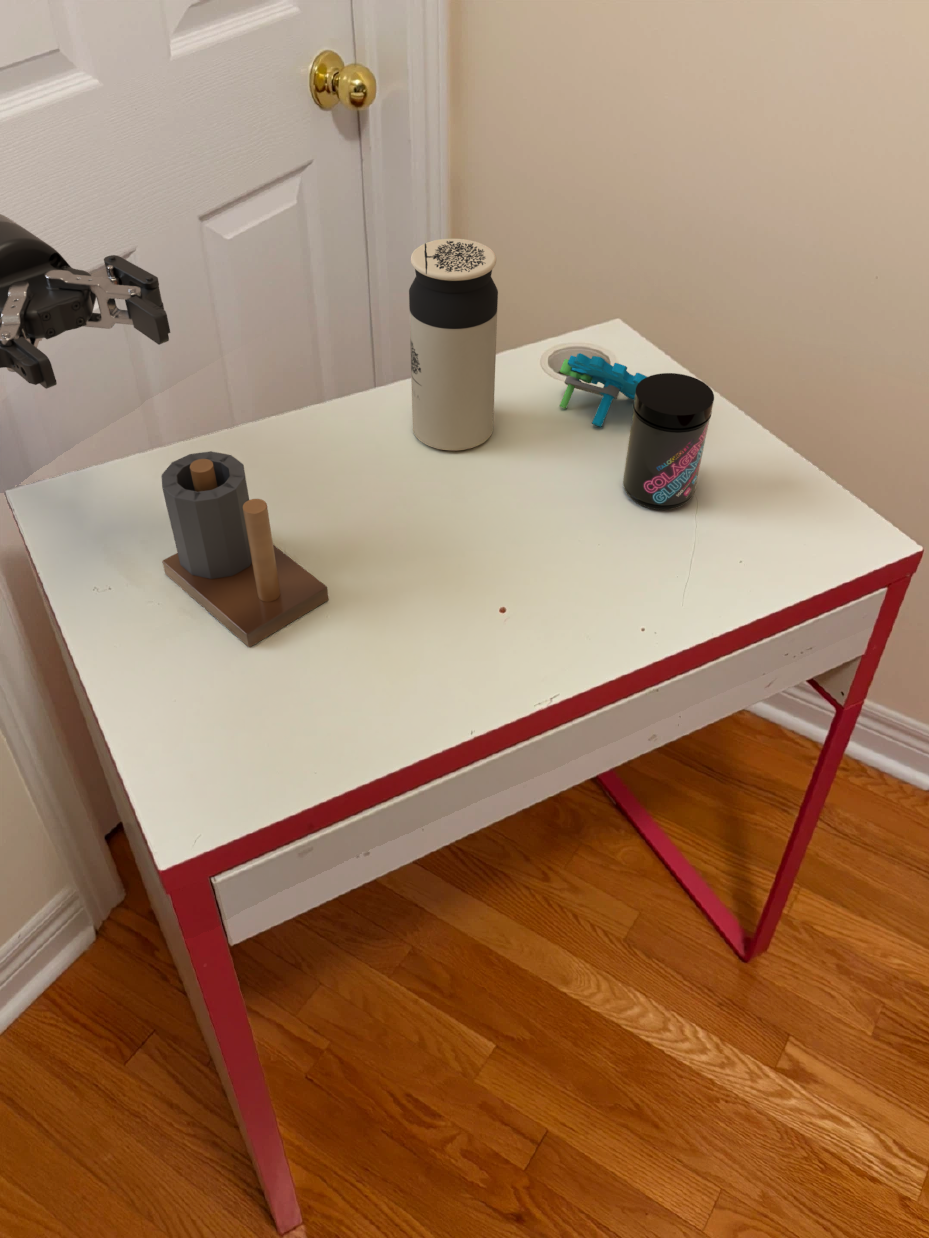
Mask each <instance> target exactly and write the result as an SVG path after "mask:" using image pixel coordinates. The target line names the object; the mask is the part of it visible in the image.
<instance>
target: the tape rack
mask: <svg viewBox="0 0 929 1238" xmlns="http://www.w3.org/2000/svg"><path fill="white" fill-rule="evenodd" d="M190 471H191V475H192V480H193V485H194V490H195V491H196V492H200V491H207V490H213V489H215V488H217V487H218V486H217V481H216V476H215V471H214V465H213V462H212V461H210V460H208V459H198V460H195V461H194V462H192V463H191V465H190ZM243 513H244V518H245V524H246V530H247V536H248V542H249V547H250V553H251V559H252V563H251V565H250V566H249V567H248V568H246V569H244V570H242V571H240V572H238V573H237V574H235V575H233V576H228V577H222V578H215V579H209V578H204V577H199V576H195V575H192V574H190V573H189V572H188V571H187V570H186V569H185V568H184V567H182V566H181V565H180V561H179V557H178V553H177V552H175V553H174V554H172V555H170V556H168V557H167V558H165V559H163V560H162V561H161V562H162V566H163V571H164V575H166V576H167V577H168V578H170V579H171V580H172V581H173V582H174V583H175V584H176V585H177V586H179V588H181V589H182V590H183V591H184V592H185V593H186V594H187V595H189V596H190V597H191V598H192V599H193V600H194V601H195V602H197V603H198V604H199V605H200V606H201V607H202V608H204V609H205V610H206V611H207V612H208V613H209V614H210V615H212V617H214V618H215V619H216V620H217V621H218V622H220V623H221V624H222V625H223V626H224V627H225V628H226V629H227V630H229V632H230V633H232V634H233V635H234V636H235V637H237V638H238V639H239V640H240V641H241V642H242V643H243V644H244V645H246V646H247V647H248V648H251V647H253V646H255V645H256V644H258V643H259V642H262V640H265V639H266V638H268V637H269V636H271V635H273V634H274V633H276V632H278V631H279V630H281V629H283V628H284V627H286V626H288V625H289V624H291V623H292V622H293V623H294V621H296V620H298V619H299V618H301V617H303V616H305V615H306V614H308V613H309V612H311V611H313V610H315V609H316V608H318V607H320V606H321V605H323V604H325V603H326V602H328V601H329V589H328V586H327V585H326V584H324V583H323V582H322V581H321V580H319V579H318V578H316V577H315V576H314V575H313V574H312V573H310V572H309V571H307V570H306V569H305V568H304V567H302V566H301V565H300V564H298V563H297V562H296V561H294V559H292V558H291V557H290V556H288V555H287V554H286V553H284V552H283V551H282V550H281V549H279V548H278V547H277V546H275V545H274V541H273V535H272V527H271V522H270V515H269V508H268V503H267V502H266V500H264V499H262V498H252V499H249V500H248V501H247V502H245V503H244V505H243Z"/></svg>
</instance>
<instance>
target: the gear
mask: <svg viewBox="0 0 929 1238" xmlns="http://www.w3.org/2000/svg"><path fill="white" fill-rule="evenodd" d="M627 370H628V367H627V366H626V365H624V364H621V363H618V362H614V363H613V365H612V364H610V363H609V362H608V361H607V360H605V358H604V357H601V356H597V355H592V356H591V358H590V357H589V356H588V355H585V354H583V353H581V352H579V353H577V354H576V356H575V355H570V356H569V359H568V358H564V360H563V362H562V365H561V367H560V369H559V373H561V374H563V375H566V377H565V379H564V382H563V383H564V384H565V385H566V389H565V392H564V394H563V396H562V399H561V401H560V404H559V407H560V408H562V409H565V410H566V409H567V407H568V405H569V402H570V401H571V398H572V395H573V393H574V392H575V391H574V390H580V391H583V392H587V393H590V394H593V395H598V396H601V397H602V398H601V399H600V402H599V405H598V407H597V409H596V412H595V414H594V417H593V419H592V422H591V424H592V425H593V426H596V427H599V428H601V427H603V424H604V422H605V419H606V417H607V415H608V412H609V410H610V407H611V405H612V403H613V400H617V398H618V396H619V394H620V393H621V394H622V395H624V396H625V397H626V398H628V399H630V400H633V401H634V398H635V391H636V387H637V385H638V383H639V382H640V381H641V380H643V379H644V378H646V377H648V376H647V375H646V374H645V375H644V374H643V373H640V372H635V375H633V374H631V373H630V372H629V371H627ZM598 383H600V384H601V385H603V387H601V386H597V385H598Z"/></svg>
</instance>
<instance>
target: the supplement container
mask: <svg viewBox="0 0 929 1238" xmlns="http://www.w3.org/2000/svg"><path fill="white" fill-rule="evenodd" d="M714 402H715V394H714V392H713V389H711V387H710V386H709V385H708V384H707V383H705V382H704V381H702V380H700V379H699V378H696V377H694V376H691V375H687V374H682V373H674V372H663V373H656V374H651V375H649V376H647V377H646V378H644V379H643V380H641V381H640V382H639V383H638V385H637V387H636V391H635V398H634V400H633V403H632V414H631V415H632V416H631V423H630V429H629V435H628V443H627V450H626V457H625V463H624V472H623V478H622V485H623V486H622V487H623V489H624V491H625V494H626V495H627V496H628V498H630V499H631V500H632V501H633V502H634V503H635V504H637V505H639V506H641V507H644V508H647V509H650V510H655V511H670V510H675V509H678V508H681V507H683V506H684V505H686V504H687V503H689V502H690V500H691V499H692V498H693V496H694V495H695V493H696V489H697V484H698V478H699V474H700V470H701V463H702V459H703V454H704V449H705V443H706V439H707V434H708V430H709V425H710V420H711V417H712V413H713V407H714Z"/></svg>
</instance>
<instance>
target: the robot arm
mask: <svg viewBox="0 0 929 1238" xmlns="http://www.w3.org/2000/svg"><path fill="white" fill-rule="evenodd" d="M103 262H104V267H105V268H102V269H100V270H98V271H95V272H92V273H90V272H89V271H86V270H83V269H79V268H73V267H72V266H71V265H70V264H69V263H68V262H67V260H66V259H65V258H64V257H63V255H61V253H59V251H57V249H55V248H54V247H53V246H51V245H50V244H49V243H47V242H46V241H44V240H42V239H41V238H39V237H38V236H36V234H34V233H32V232H31V231H29V230H27V229H26V228H24V227H23V226H22V225H20V224H18V223H17V222H16V221H14V220H12V219H11V218H9V217H7V216H6V215H4V214H1V213H0V369H1V368H6V370H7V372H10V373H16V374H18V375H19V376H20V377H21V378H22V379H23V380H25V381H26V382H27V383H28V384H30V385H31V384H32V385H35V386H37V385H40V386H41V387H43V388H44V389H46V390H47V389H49V388H52V387H55V386H57V384H58V383H57V379H56V375H55V372H54V369H53V366H52V362H51V361H50V358H49V357H48V356H47V355H46V354H45V353H44V352H42V351H41V349H39V348H38V346H39V343H40V342H42V341H43V339H45V340H50V339H52V338H55V337H57V336H60V335H62V334H63V333H64V332H67V331H71V330H76V329H80V328H82V327H83V328H84V327H85V328H94V329H95V328H96V329H108V330H110V329H112V328H113V327H114V326H115V325H116V324H117V325H118V324H119V325H129V326H133V328H134V329H135V330H137V331H138V332H140V333H141V334H142V335H144V336H145V337H147V338H148V339H150V340H151V341H152V342H154V343H155V344H157V345H162V344H164V343H168V342H169V341H170V337H169V334H171V328H170V324H169V319H168V314H167V311H166V310H165V306H164V302H163V299H162V295H161V294H162V293H161V289H160V282H159V277H157V276H156V275H154V274H152V273H151V272H149V271H147V270H145V269H144V268H142V267H140V266H138V265H136V264H134V263H132V262H130V261H129V260H127V259H125V258H123V257H121V256H120V255H115V254H111V255H106V256H105V257H104V258H103ZM116 300H124V302H125V307H126V309H121V308H119V307H118V306H117V303H116V302H117V301H116ZM96 302H97V306H98V309H99V312H93V311H94V309H95V304H96Z"/></svg>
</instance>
